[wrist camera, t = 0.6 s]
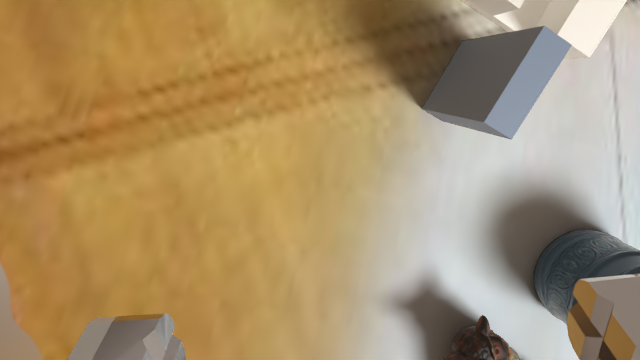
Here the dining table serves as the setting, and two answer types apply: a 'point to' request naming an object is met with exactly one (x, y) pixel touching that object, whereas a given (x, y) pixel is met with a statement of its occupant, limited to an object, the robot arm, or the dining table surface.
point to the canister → (580, 266)
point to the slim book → (497, 80)
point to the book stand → (555, 19)
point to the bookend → (480, 344)
